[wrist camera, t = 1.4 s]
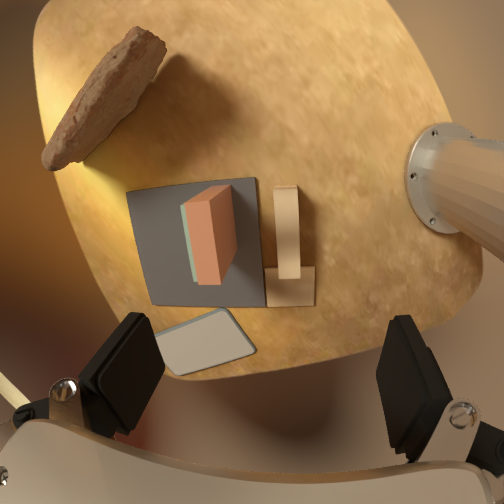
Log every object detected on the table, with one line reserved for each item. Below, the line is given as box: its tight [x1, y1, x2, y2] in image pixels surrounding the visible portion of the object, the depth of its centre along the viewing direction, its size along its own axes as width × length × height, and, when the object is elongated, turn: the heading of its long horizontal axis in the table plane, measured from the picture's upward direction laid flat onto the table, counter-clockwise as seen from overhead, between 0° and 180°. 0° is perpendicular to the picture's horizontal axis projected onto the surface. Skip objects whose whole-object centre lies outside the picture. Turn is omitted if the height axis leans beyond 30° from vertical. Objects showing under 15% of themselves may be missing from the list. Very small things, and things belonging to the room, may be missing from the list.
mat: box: [126, 177, 266, 307], centre depth 31 cm, size 15×15×1 cm
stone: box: [41, 26, 167, 171], centre depth 21 cm, size 19×10×4 cm
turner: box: [265, 185, 315, 307], centre depth 28 cm, size 14×6×3 cm, turn 5°
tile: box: [180, 184, 238, 285], centre depth 25 cm, size 2×7×8 cm, turn 5°
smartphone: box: [154, 307, 256, 376], centre depth 37 cm, size 8×1×15 cm
